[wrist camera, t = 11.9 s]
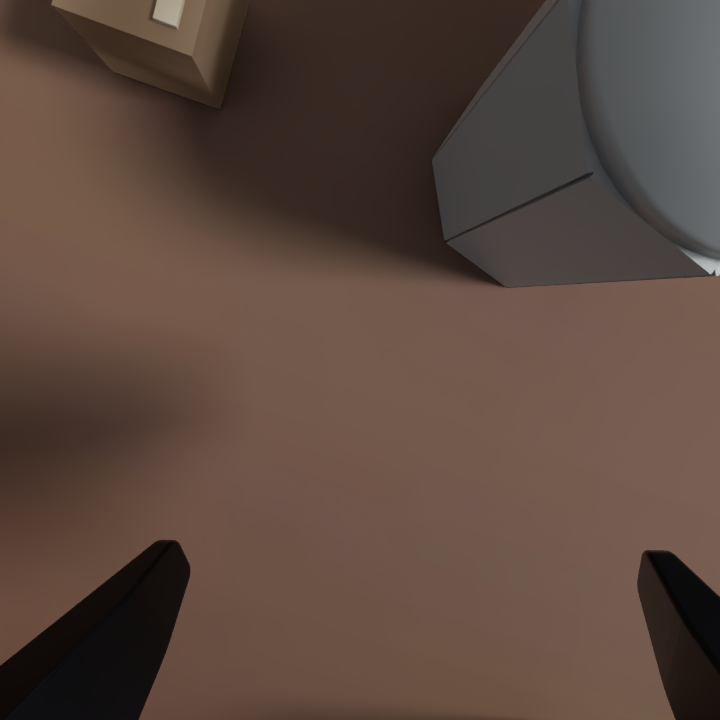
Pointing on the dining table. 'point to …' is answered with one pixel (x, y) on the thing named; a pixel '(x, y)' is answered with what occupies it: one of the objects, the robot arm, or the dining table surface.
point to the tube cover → (592, 148)
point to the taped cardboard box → (164, 41)
